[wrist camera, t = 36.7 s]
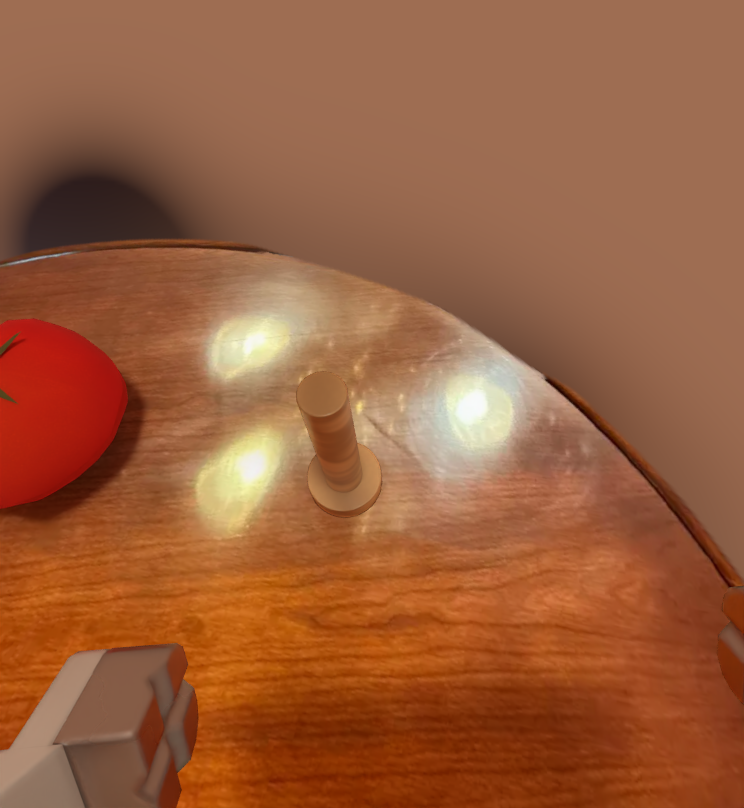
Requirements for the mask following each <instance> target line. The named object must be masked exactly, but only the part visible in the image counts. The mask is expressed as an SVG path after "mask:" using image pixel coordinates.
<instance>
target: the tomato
mask: <svg viewBox="0 0 744 808" xmlns="http://www.w3.org/2000/svg"><path fill="white" fill-rule="evenodd" d="M127 402H128V396H127V388H126V383H125V381H124V379H123V377H122V375H121V374H120V372H119V370H118V369H117V367H116V366H115V364H114V363H113V361H112V360H111V359H110V358H109V357H108V356H107V355H106V354H105V353H104V352H103V351H102V350H101V349H99V348H98V347H96V346H95V345H94V344H92V343H91V342H90V341H88V340H87V339H86V338H84V337H83V336H81V335H79V334H78V333H76V332H74V331H72V330H69V329H67V328H64V327H61V326H59V325H55V324H52V323H48V322H45V321H41V320H38V319H21V320H7V321H6V322H4V323H3V324H1V325H0V509H2V508H7V507H12V506H16V505H20V504H25V503H29V502H33V501H38V500H41V499H43V498H45V497H47V496H49V495H51V494H52V493H54V492H56V491H58V490H59V489H61V488H62V487H64V486H66V485H67V484H69V483H70V482H72V481H73V480H75V479H77V478H78V477H79V476H80V475H81V474H83V473H84V472H85V471H86V470H87V469H88V468H89V467H90V466H92V465H93V464H94V463H95V462H96V461H97V460H98V459H99V458H100V457H101V455H102V454H103V453H104V451H105V450H106V449H107V447H108V446H109V445H110V444H111V442H112V441H113V440H114V437H115V435H116V432H117V430H118V427H119V425H120V422H121V420H122V417H123V415H124V412H125V410H126V406H127Z"/></svg>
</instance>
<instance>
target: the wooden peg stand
mask: <svg viewBox="0 0 744 808" xmlns="http://www.w3.org/2000/svg"><path fill="white" fill-rule="evenodd" d="M296 400H297V404H298V406H299V409H300V412H301V414H302V417H303V420H304V422H305V425H306V428H307V431H308V433H309V436H310V439H311V441H312V444H313V447H314V449H315V452H316V455H315V456H314V458H313V459H312V461H311V463H310V465H309V468H308V474H307V482H308V487H309V490H310V492H311V494H312V496H313V498H314V500H315V502H316V503H317V505H318V506H319V507H320V508H321V509H323V510H324V511H325V512H327V513H329V514H331V515H334V516H338V517H352V516H356V515H358V514H361V513H363V512H365V511H366V510H367V509H369V508H370V507H371V506H372V505H373V504H374V503H375V501H376V500H377V498H378V496H379V494H380V491H381V486H382V477H381V468H380V464H379V462H378V460H377V458H376V456H375V455H374V454H373V452H371V451H370V450H369V449H368V448H367V447H365V446H364V445H362V444H359V443H357V440H356V434H355V429H354V423H353V418H352V412H351V407H350V401H349V396H348V390H347V387H346V384H345V382H344V381H343V380H342V379H341V378H340V377H339V376H338V375H336V374H334V373H331V372H325V371H321V372H315V373H313V374H310V375H309V376H307V377H306V378H304V379H303V380H302V382H301V383H300V384H299V386H298V388H297V392H296Z"/></svg>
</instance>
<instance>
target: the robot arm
mask: <svg viewBox="0 0 744 808" xmlns="http://www.w3.org/2000/svg"><path fill="white" fill-rule="evenodd" d="M722 612H723V613H724V614H725V615H726V617H727V618H728V619H729V620H730V622H729V623H728V625H727V626H726V627H725V628H724V629H723V630H722V631H721V633H720V634H719V635H718V647H717V656H718V660H719V663H720V667H721V671H722V674H723V676H724V678H725V680H726V682H727V683H728V685H729V687H730V689H731V690H732V691H733V693H734V694H735V695H736V697H737V698H738V699H739V700H740V702H741V703H742V704H744V586H738V587H729V589H728V590H727V592H726V593H725V595H724V597H723V604H722ZM187 666H188V662H187V659H186V655H185V652H184V649H183V646H181V645H179V644H177V643H174V644H161V645H148V646H135V647H122V648H112V649H103V650H91V651H78V652H77V653H75V654H74V655H72V656H70V657H69V658H68V660H67V661H66V663H65V664H64V666H63V667H62V669H61V670H60V672H59V673H58V675H57V676H56V678H55V679H54V681H53V682H52V684H51V686H50V687H49V689H48V690H47V692H46V693H45V695H44V696H43V698H42V699H41V701H40V702H39V704H38V705H37V707H36V709H35V710H34V712H33V713H32V715H31V716H30V718H29V719H28V721H27V722H26V724H25V725H24V727H23V728H22V730H21V732H20V733H19V735H18V736H17V738H16V739H15V741H14V742H13V744H12V745H11V747H10V748H9V750H0V808H176V807H177V803H178V800H179V797H180V794H181V790H182V789H181V786H180V782H179V778H178V774H177V773H178V772H179V771H180V770H181V769H182V768H183V767H184V766H185V765H186V764H187V763H188V762H189V761H190V760H191V757H192V753H193V750H194V746H195V742H196V737H197V727H198V705H197V698H196V694H195V690H194V688H193V687H192V686H191V685H190V684H188V683H187V682H186V681H185V680H184V679H183V677H184V675H185V672H186V669H187Z"/></svg>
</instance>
